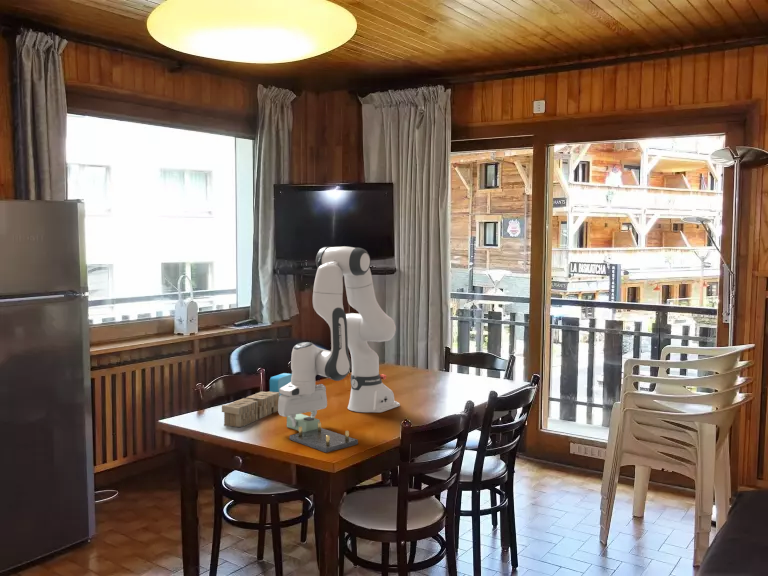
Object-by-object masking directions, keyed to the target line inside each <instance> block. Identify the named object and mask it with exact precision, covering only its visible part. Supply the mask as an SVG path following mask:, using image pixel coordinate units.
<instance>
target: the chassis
mask: <svg viewBox="0 0 768 576" xmlns="http://www.w3.org/2000/svg"><path fill="white" fill-rule="evenodd" d="M344 432H345V433H344V434H341V433H337V432H335V431H331V430H328V429H326V428H323V427H322V422H321V421H320V422H318V429H315V430H310V431H306V432H302V426H300V427H299V431H298V433H294V434H290V435H289V441H293V442H295V443H298V444H301V445H304V446H306V447H310V448H311V449H315V450H318V451H320V452H323V453H329V452H334V451H337V450H341V449H344V448H349V447H352V446H356V445H358V444H359V439H356V438H353V437H351V436H349V435H350V432H349V430H345V431H344Z"/></svg>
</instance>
